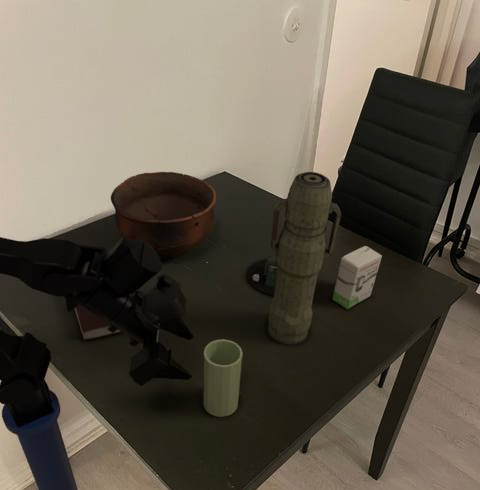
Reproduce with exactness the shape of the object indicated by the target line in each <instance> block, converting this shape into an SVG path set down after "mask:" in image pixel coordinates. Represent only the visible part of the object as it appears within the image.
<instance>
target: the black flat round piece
mask: <svg viewBox="0 0 480 490" xmlns="http://www.w3.org/2000/svg"><path fill="white" fill-rule="evenodd" d="M276 257H277V254H276V253H275V254H274V255H273V256H271V257H269V258H267V259H263V260H259V261H257V262H255V263H254V264H252V265H251V266H250V267H249V269H248V271H247V280H248V282H249V284H250V286H252V288H254V289H255V290H256V291H258V292H260V293H262V294H264V295H268V296H271V297H274V292H275V284H276V276H277V269H278V265H277V261H276Z"/></svg>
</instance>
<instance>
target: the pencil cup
mask: <svg viewBox="0 0 480 490" xmlns="http://www.w3.org/2000/svg"><path fill="white" fill-rule="evenodd" d="M243 353H244V352H243V350H242V348H241V346H240V345H239V344H238V343H236V342H235V341H232V340H229V339H215V340H213V341H210V342H208V344H207V345H206V346H205V347H204V350H203V358H202V360H203V364H202V365H203V368H202V403H203V404H202V405H203V408H204V409H205V411H206V412H207V413H208V414H210V415H212V416H213V417H218V418H223V417H228V416H230V415H232V414H233V413H235V412H236V411H237V409H238V407H239V401H240V390H241V378H242V366H243V357H244V356H243Z"/></svg>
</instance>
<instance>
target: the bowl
mask: <svg viewBox="0 0 480 490" xmlns="http://www.w3.org/2000/svg"><path fill="white" fill-rule="evenodd" d="M217 200H218V196H217V192H216V190H215V188H214V187H213V186H212V185H210V184H209V183H208V182H206V181H205V180H203V179H200V178H198V177H195V176H192V175H189V174H186V173H181V172H175V171H174V172H173V171H156V172H155V171H154V172H144V173H138V174H135V175H132V176H129V177H128V178H126V179H125V180H123V182H121V183H119V184H118V185H117V186H116V187H115V188H114V189H113V191H112V192H111V195H110V201H111V203H112V206H113V208H114V211H115V212H114V220H115V224H116V228H117V230H118V232H119V233H120V235H121V236H122V237H123V236H126V237H127V238H129V239H130V240H134V239H137V240H140V241H142V242H146V243H148V244H149V245H150V246H151V247H152V248H153V249H154V250H155V251H156V253H157V254H158V256H159V258H160V260H165V259H169V258H176V257H178V256H180V255H183V254H184V253H186V252H188V251H190V250H192V249H194V248H195V247H196V246H198V245H199V244H200V243H202V242H203V241H204V240H205V239H207V237H209V235H210V233H211V232H212V231H213V229H214V228H213V227H214V225H215V211H214V210H215V209H214V208H215V205H216V203H217Z"/></svg>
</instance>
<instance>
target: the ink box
mask: <svg viewBox="0 0 480 490" xmlns="http://www.w3.org/2000/svg"><path fill="white" fill-rule="evenodd" d="M382 257H383V255H382V254H380V253H379V252H377V251H376V250H373V249H372V248H370V247H369V246H366V245H364V246H361V247H359V248H357V249H356V250H353V251H351V252H349V253H347V254H345V255H343V257H341V259H340V263H339V268H338V272H337V277H336V281H335V286H334V290H333V295H332V300H333V301H334V302H336V303H337V304H339V305H340V306H342V307H343V308H344V309H346V310H348V309H350V308H352V307H354V306H356V305H357V304H359V303H360V302H363V301H364V300H366V299H367V298H369V297H371V295H372V291H373V288H374V286H375V282H376V278H377V275H378V271H379V268H380V264H381V261H382V259H383V258H382Z"/></svg>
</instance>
